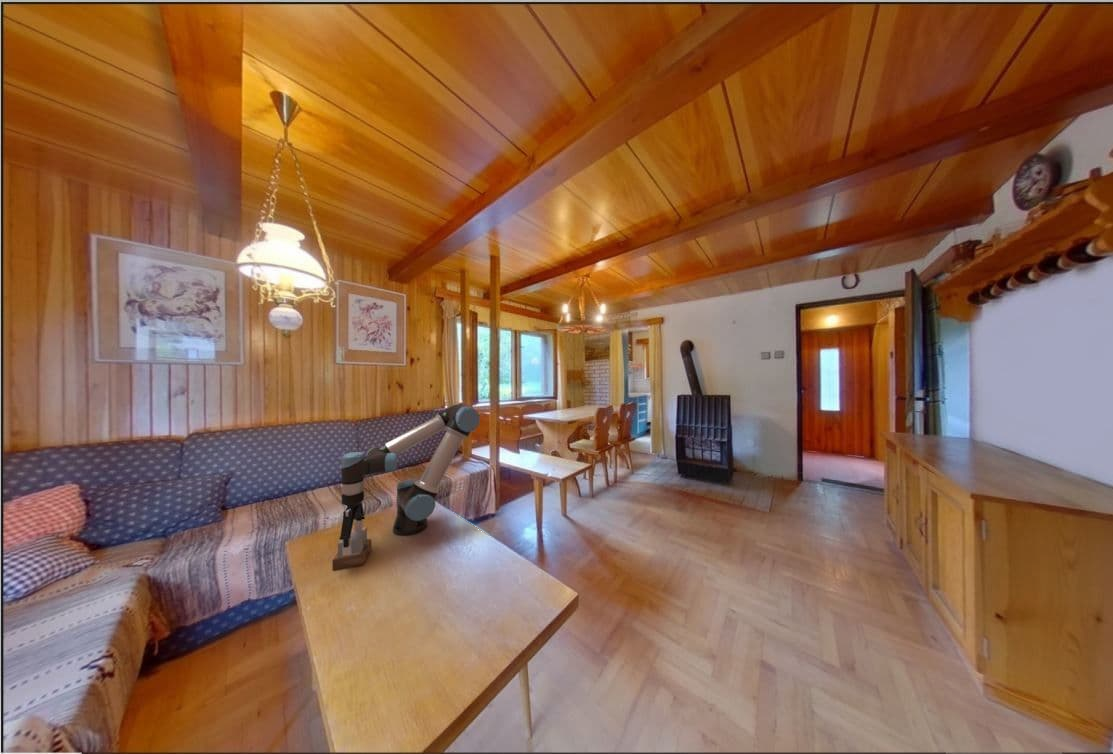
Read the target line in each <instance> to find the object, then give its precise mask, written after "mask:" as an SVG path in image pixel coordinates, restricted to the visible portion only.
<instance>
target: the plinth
mask: <svg viewBox="0 0 1113 754" xmlns="http://www.w3.org/2000/svg"><path fill="white" fill-rule="evenodd" d="M371 551H372V539H367V540H366V542H365V545H364V548H363V551H362V552H359V553H354V554H350V555H344V556H339V557H338V552H337V553H336V555H335V556H334V557H333V558H332V571H338V570H345V569H351V568H358V567H363V566H364V564H365V562H366V561H367V558H368V557H369V555H370V553H371Z"/></svg>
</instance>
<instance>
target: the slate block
mask: <svg viewBox="0 0 1113 754" xmlns="http://www.w3.org/2000/svg"><path fill="white" fill-rule="evenodd" d="M365 542H366V530H362V531H356V532H351V554H354V553H359V552H362V551H363V548H364V545H365ZM337 553H338V557H339V556H344V555H343V540H340V539H339V541H338V542H337Z"/></svg>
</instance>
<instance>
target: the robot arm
mask: <svg viewBox="0 0 1113 754" xmlns="http://www.w3.org/2000/svg"><path fill="white" fill-rule="evenodd" d="M480 419H481V417H480V414H479V412H478V411H477V409H475V408H474V407H472V406H469V405H463V404H453V405H451V406H449V407H447V408H445V409H444V410H442V411H440V412H438V413H436V415H435V417H432V418H431V419H429V420H427V421H425V422H423V423H421V424H419V425H417V426H416V427H414V428H411V429H410V430H407V431H406V432H404V433H402V434H400V435H398V436H396V437H395V438H393V439H391V440H389V441H387V442H385V443H383V444H382V445H379V446H373V447H370V448H369V449H368V451H367V452H366V456H365V454H364V452H362V451H353V452H352V451H351V452H348V453H345V454H344V455H342V457H341V469H340V470H341V476H340V477H341V484H340V486H339V487H340V488H341V493H342V494H341V505H343V506H346V509H345V510H344V511H343V512H342V514H343V515H342V522H341V529H340V530H341V531H340V537H339V540H343V555H350V554H351V531H352V528H353V525H354V528H355V532H356V531H362V527H363V520H365V519H366V516H365V512H364V511H365V510H364V507H363V501H364V500H365V491H364V490H365V476H369V475H370V476H371V475H377V474H383V473H389V472H393V471H396V469H397V468H398V455H400V454H402V453H404V452H405V451H407V450H409V449H411V448H414V447H415V446H417V445H418V444H421V443H422V442H423V441H426V440H428V439H429V438H430V437H431V438H432V437H433V436H434V435H436V434H438V433H440V432H441V431H444V432H445V434H444V436H443V438H442V439H441V441H440V443H439V444H438V446H437V448H436V450H435V452H434V453H433V456H432V457H431V459H430V461H429V462H428V465H427V466H426V468H425V470H424V472H423V473H422V474H421V477H420V478H411V479H405V480H402V481H400V482H398V483H397V485H396V516H395V520H394V522H393V526H392V533H393V534H394V535H395V536H399V537H406V536H412V535H416V534H418V533H421V532H423V531H424V530H425V529H427V527H428V518H429V517H430V516H431V515H432V514H433V512H434V510H435V508H436V498H437V496H438V495H439V489H438V487H439V485H441V481H442V480H443V478H444V476H445V474H446V472H447V471H448V468H449V467H450V465H451V464H452V461H453V459H454V457H455V455H456V453H457V451H458V450H459V448H460V446H461V443H462V442H463V440H465V439H467V438H468V437H469V436H470V434H471V433H472V432H473V431H475V430H476V429H477V427H478V426H479V424H480Z"/></svg>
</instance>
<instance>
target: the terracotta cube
mask: <svg viewBox="0 0 1113 754" xmlns="http://www.w3.org/2000/svg"><path fill="white" fill-rule="evenodd" d="M362 530H366V540H368V526H362ZM351 532H355V527H352V531H351Z"/></svg>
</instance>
